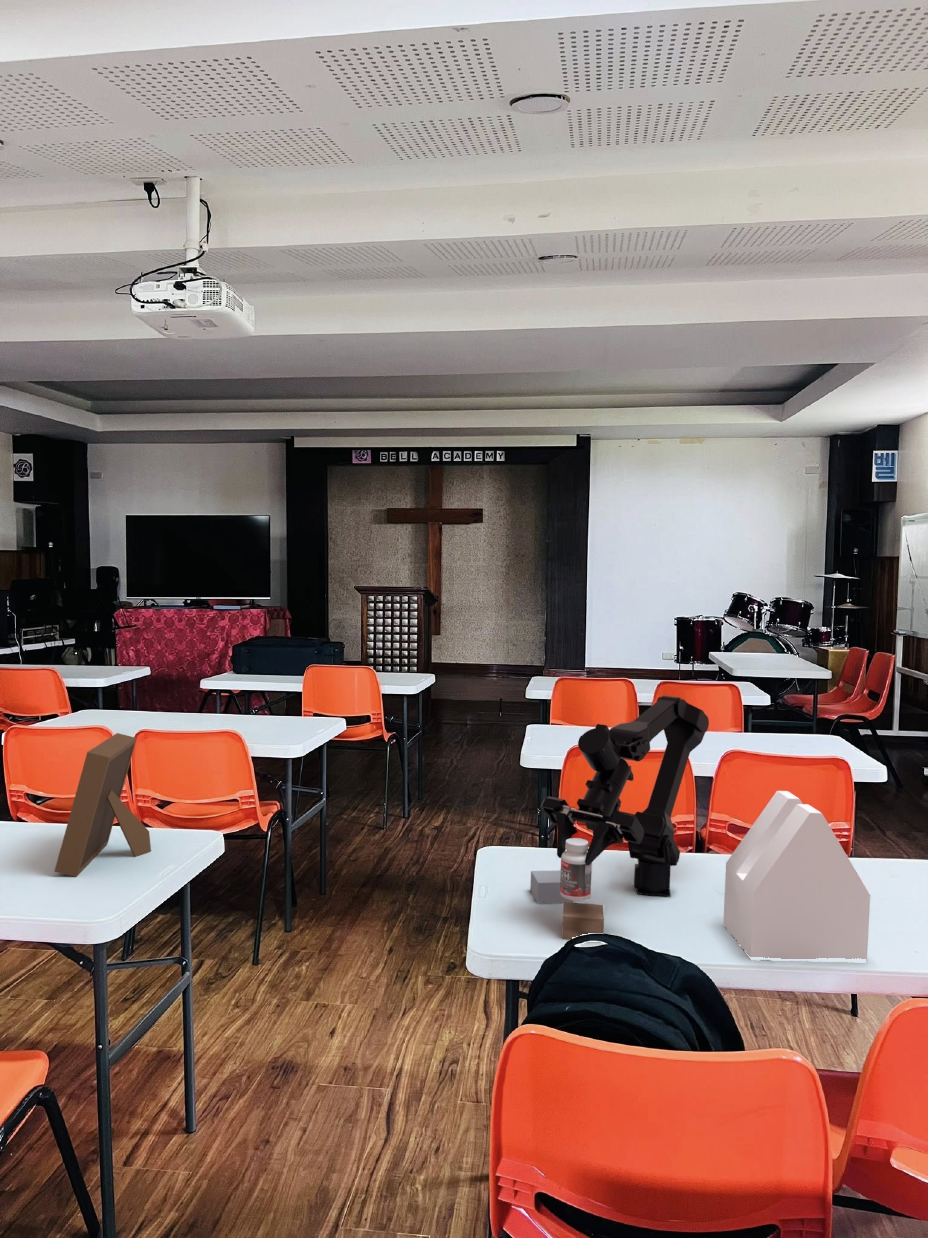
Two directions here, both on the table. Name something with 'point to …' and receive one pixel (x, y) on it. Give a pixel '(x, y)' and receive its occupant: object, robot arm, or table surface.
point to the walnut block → (581, 919)
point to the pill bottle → (575, 871)
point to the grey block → (547, 887)
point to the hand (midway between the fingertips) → (572, 860)
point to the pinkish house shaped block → (795, 888)
